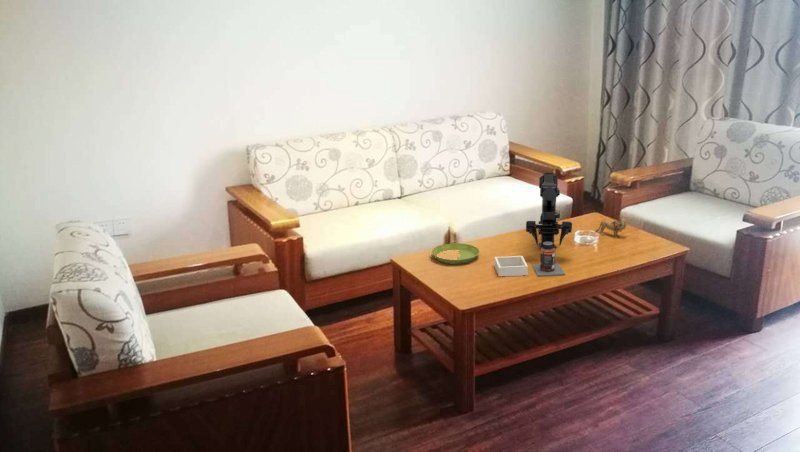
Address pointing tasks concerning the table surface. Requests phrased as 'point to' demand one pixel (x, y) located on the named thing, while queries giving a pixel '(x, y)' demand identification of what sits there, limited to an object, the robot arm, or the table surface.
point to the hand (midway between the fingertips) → (548, 245)
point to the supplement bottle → (547, 257)
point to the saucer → (465, 251)
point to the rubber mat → (555, 272)
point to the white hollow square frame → (511, 266)
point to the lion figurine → (613, 226)
